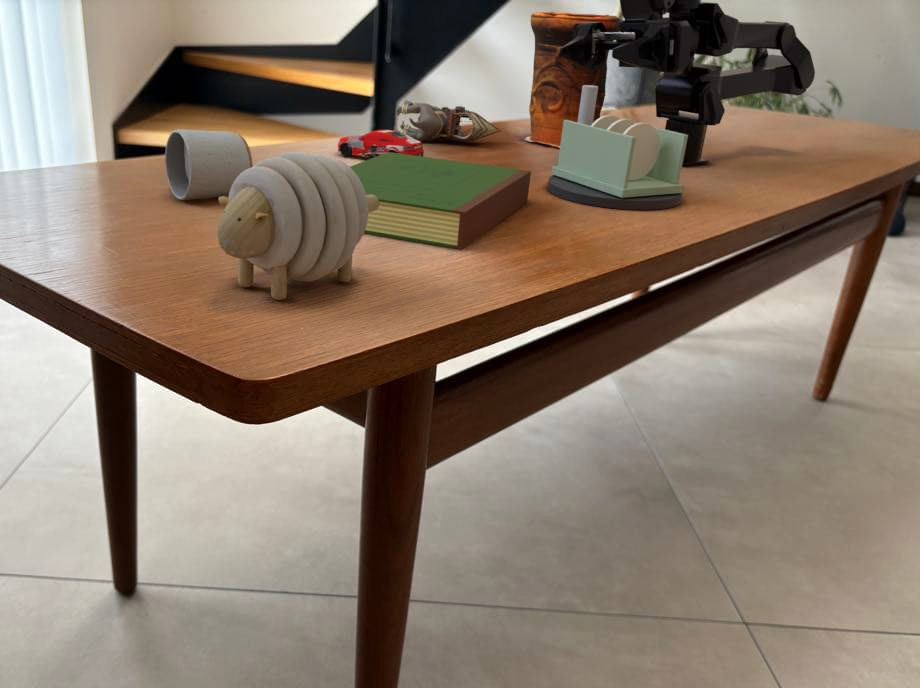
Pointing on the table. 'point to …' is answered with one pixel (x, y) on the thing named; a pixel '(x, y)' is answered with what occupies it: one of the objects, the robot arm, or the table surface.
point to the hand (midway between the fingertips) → (586, 52)
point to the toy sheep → (294, 219)
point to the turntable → (608, 196)
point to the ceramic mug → (205, 162)
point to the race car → (379, 144)
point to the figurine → (443, 122)
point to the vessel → (561, 75)
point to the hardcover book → (439, 197)
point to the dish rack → (619, 153)
